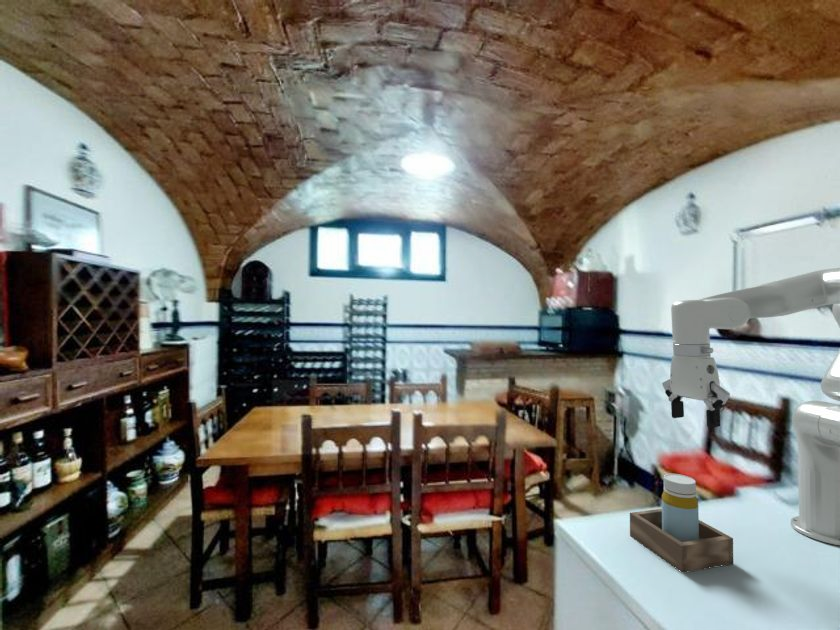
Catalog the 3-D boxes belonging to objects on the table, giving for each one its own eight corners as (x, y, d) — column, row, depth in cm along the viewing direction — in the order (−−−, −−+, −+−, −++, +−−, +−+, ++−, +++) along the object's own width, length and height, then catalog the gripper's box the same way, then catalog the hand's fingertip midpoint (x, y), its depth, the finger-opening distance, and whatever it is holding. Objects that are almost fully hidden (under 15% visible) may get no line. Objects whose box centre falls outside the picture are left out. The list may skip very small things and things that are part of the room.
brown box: (675, 529, 103) (675, 506, 103) (733, 564, 88) (733, 538, 88) (629, 535, 100) (629, 512, 100) (682, 572, 85) (681, 546, 85)
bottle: (704, 555, 90) (703, 486, 90) (669, 552, 91) (668, 483, 91) (690, 538, 96) (689, 474, 96) (657, 536, 98) (656, 472, 98)
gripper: (738, 352, 93) (742, 429, 93) (674, 348, 110) (677, 412, 110) (712, 354, 91) (716, 432, 91) (650, 349, 108) (653, 415, 108)
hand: (695, 421), depth 100 cm, fingers open, 9 cm apart
